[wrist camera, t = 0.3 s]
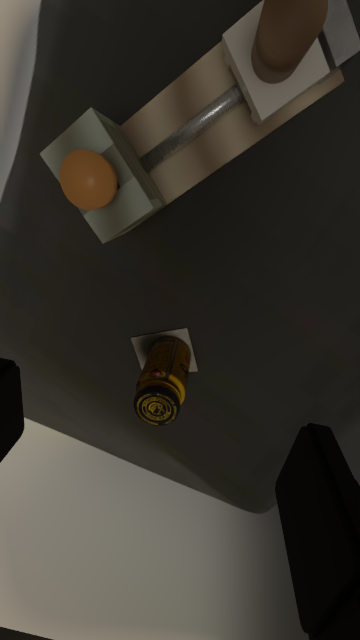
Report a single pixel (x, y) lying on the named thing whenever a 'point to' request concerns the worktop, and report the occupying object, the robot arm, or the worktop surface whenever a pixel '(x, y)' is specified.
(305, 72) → the carriage
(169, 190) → the rail base
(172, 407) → the condiment
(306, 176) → the worktop surface
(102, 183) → the button
